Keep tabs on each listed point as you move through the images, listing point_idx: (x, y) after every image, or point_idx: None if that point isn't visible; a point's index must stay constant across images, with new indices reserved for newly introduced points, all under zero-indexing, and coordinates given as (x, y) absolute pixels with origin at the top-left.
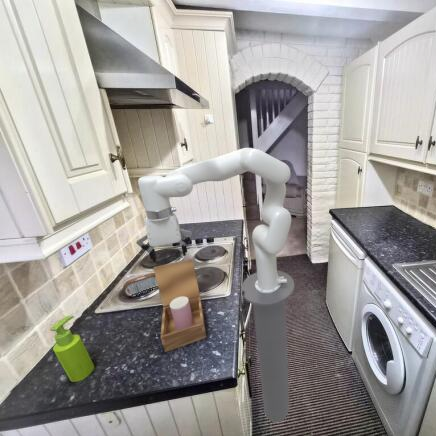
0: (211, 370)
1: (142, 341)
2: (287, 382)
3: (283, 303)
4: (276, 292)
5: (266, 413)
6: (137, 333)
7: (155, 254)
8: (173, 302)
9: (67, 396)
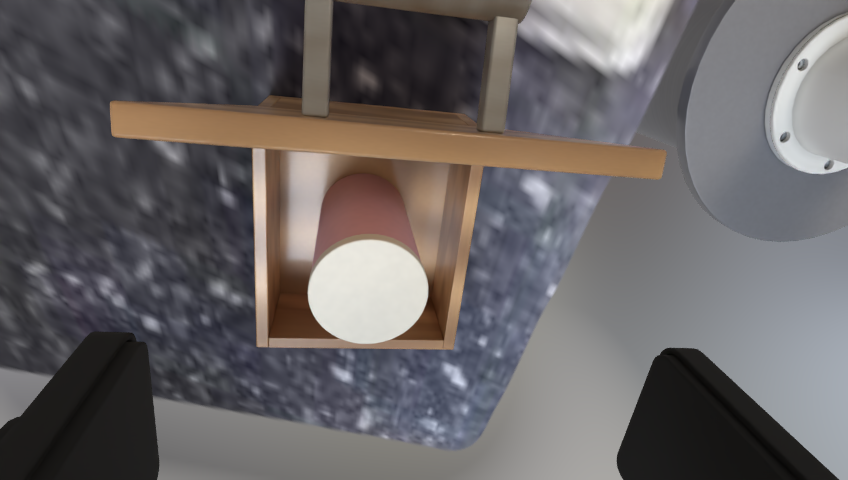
0: (422, 423)
1: (156, 187)
2: None
3: None
4: (819, 179)
5: None
6: None
7: (103, 436)
8: (333, 280)
9: None
